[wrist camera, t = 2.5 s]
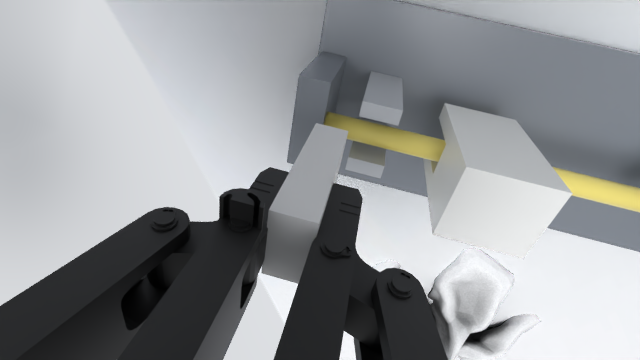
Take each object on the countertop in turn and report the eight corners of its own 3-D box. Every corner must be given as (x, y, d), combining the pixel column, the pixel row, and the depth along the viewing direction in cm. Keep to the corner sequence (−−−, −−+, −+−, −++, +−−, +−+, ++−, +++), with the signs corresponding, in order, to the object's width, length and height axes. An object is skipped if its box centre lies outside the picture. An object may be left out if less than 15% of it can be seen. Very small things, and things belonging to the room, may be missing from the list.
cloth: (372, 369, 42) (368, 425, 37) (312, 264, 34) (297, 317, 29) (583, 361, 34) (615, 431, 29) (567, 220, 26) (609, 282, 21)
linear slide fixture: (303, 156, 27) (274, 213, 20) (332, -14, 20) (302, -6, 14) (667, 250, 25) (756, 344, 18) (833, 95, 18) (1060, 161, 12)
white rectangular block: (423, 157, 21) (432, 234, 15) (444, 103, 19) (466, 166, 13) (486, 173, 21) (523, 259, 14) (515, 119, 19) (572, 193, 12)
